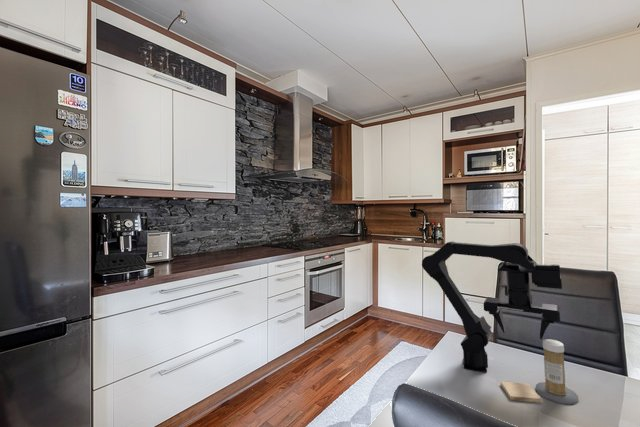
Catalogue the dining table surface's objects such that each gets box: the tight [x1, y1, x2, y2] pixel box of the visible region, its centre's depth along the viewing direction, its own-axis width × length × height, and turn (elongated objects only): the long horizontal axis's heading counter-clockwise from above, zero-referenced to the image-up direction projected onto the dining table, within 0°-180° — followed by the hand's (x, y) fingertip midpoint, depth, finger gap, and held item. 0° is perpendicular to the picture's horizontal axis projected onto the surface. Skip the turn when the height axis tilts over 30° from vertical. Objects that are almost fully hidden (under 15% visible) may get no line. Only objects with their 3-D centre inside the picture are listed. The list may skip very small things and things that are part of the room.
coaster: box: [535, 381, 579, 405], centre depth 79 cm, size 9×9×1 cm
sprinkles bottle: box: [542, 338, 567, 396], centre depth 79 cm, size 5×5×14 cm
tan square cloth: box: [500, 381, 542, 404], centre depth 80 cm, size 7×7×1 cm
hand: (522, 335), depth 88 cm, fingers open, 9 cm apart
